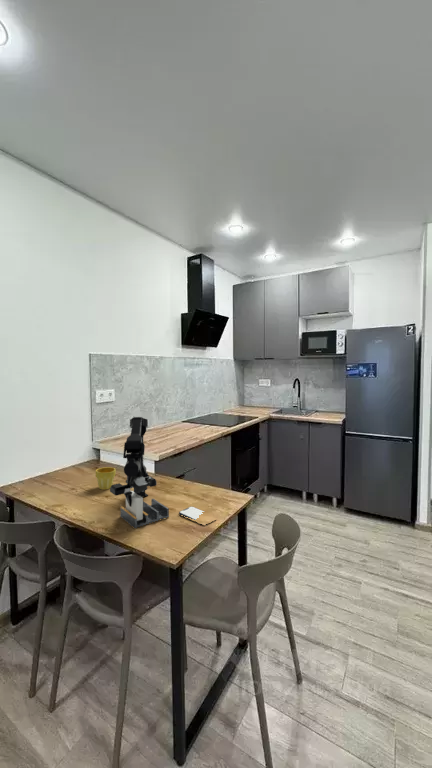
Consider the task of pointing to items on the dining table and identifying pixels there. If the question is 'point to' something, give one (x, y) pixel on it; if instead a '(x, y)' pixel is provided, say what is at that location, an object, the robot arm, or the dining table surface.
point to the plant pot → (105, 477)
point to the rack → (146, 514)
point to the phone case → (191, 512)
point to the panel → (135, 506)
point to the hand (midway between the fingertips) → (134, 505)
